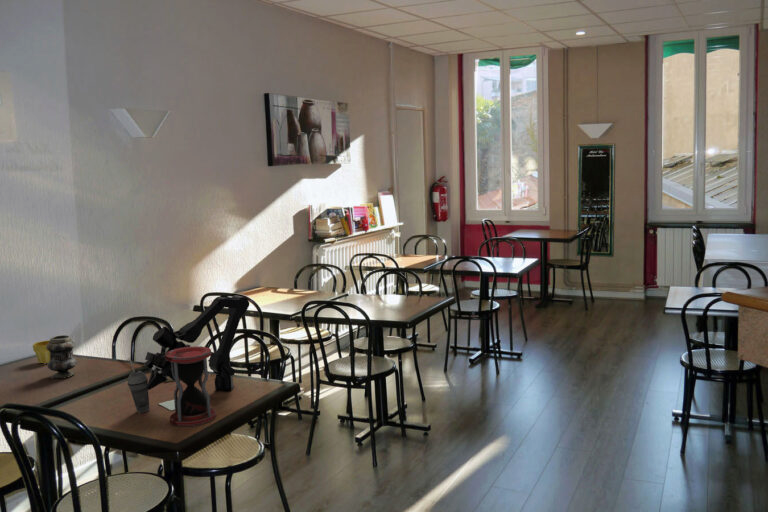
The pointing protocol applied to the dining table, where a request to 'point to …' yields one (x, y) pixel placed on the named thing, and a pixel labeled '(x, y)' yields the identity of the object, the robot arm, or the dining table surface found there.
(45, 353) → the plant pot
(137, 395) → the beverage cup
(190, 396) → the hourglass
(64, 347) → the apothecary jar
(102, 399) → the dining table surface
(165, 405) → the mat
